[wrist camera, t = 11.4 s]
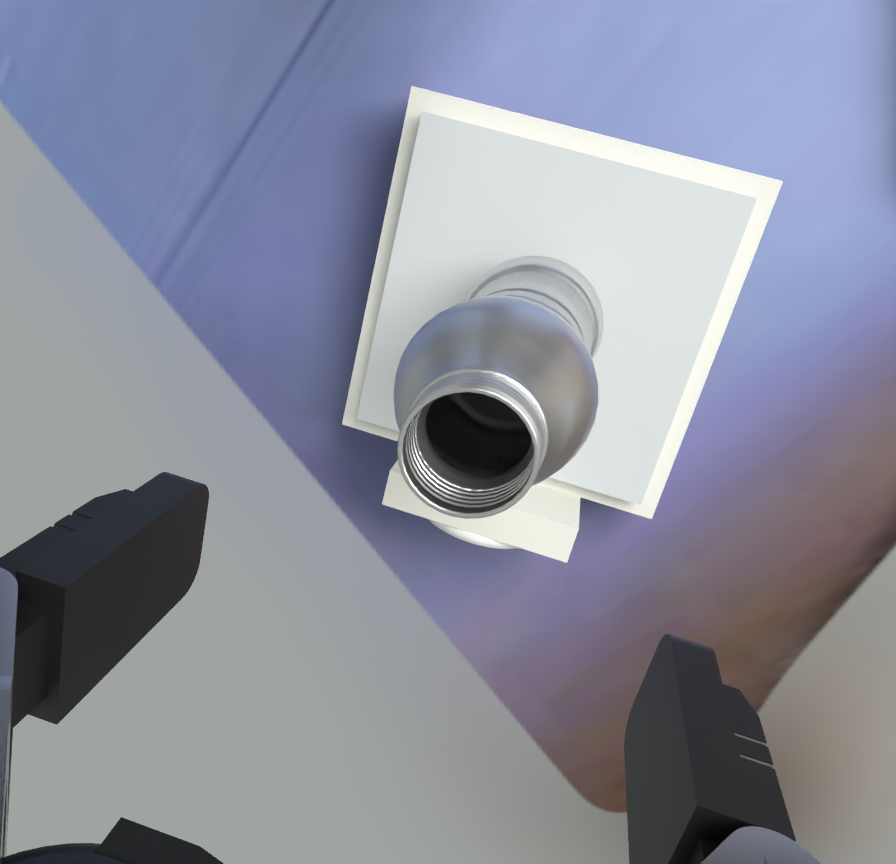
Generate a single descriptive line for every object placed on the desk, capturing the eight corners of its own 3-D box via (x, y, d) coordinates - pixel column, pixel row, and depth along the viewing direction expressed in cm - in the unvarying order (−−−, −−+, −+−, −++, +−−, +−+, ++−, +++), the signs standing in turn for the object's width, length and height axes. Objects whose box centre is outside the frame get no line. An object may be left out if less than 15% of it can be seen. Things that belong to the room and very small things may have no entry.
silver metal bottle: (621, 354, 37) (640, 531, 18) (494, 396, 39) (397, 595, 20) (579, 229, 35) (554, 285, 17) (449, 279, 37) (299, 379, 19)
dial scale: (429, 94, 39) (389, 74, 32) (764, 181, 38) (805, 181, 30) (353, 446, 47) (307, 496, 39) (631, 532, 45) (637, 601, 38)
